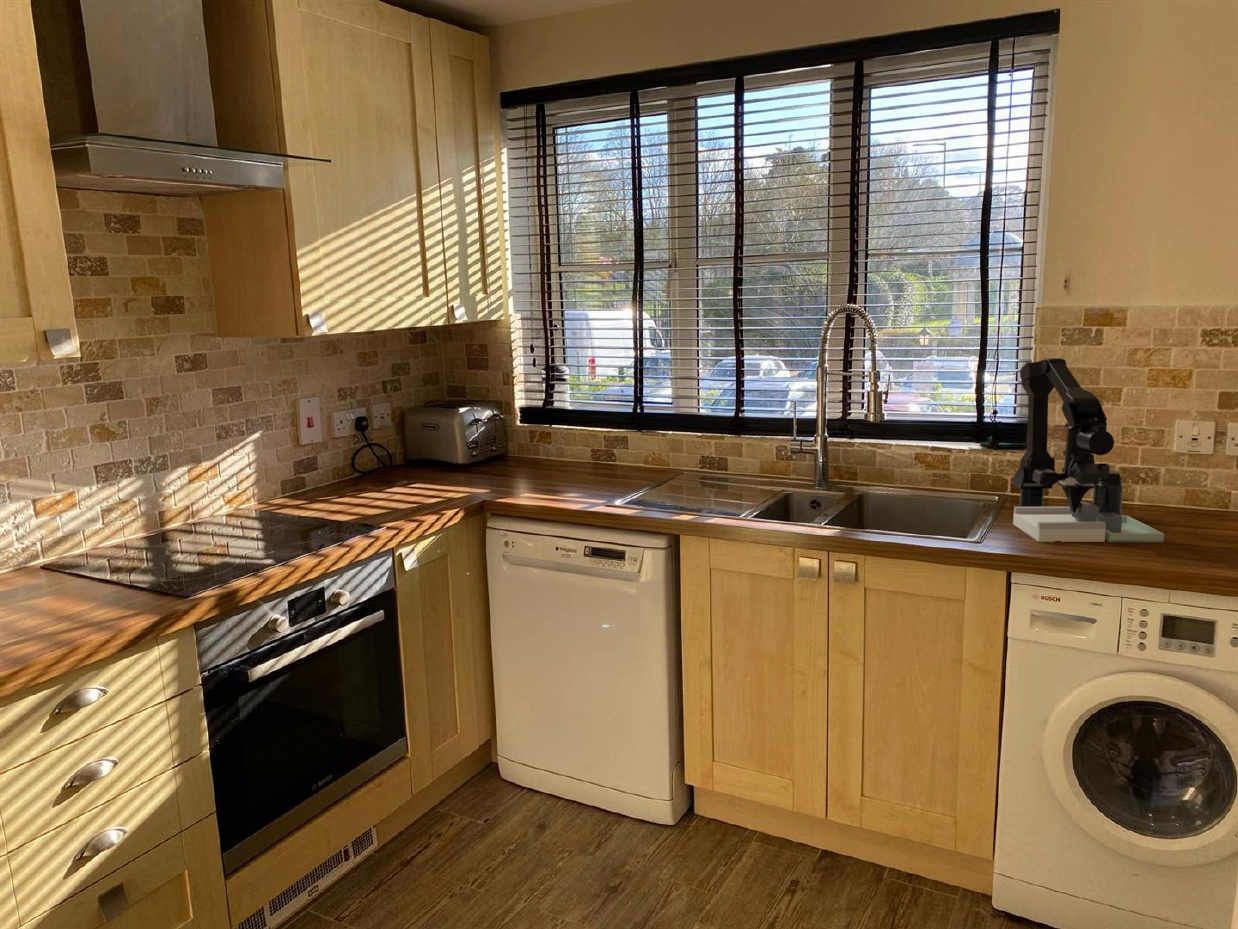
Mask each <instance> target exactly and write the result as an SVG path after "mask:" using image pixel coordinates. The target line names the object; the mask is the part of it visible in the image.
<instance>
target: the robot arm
mask: <svg viewBox="0 0 1238 929" xmlns="http://www.w3.org/2000/svg"><path fill="white" fill-rule="evenodd" d="M1019 375H1020V379H1021V386H1022V388H1023V390H1024V391H1025V393H1026V394H1027V396H1028V400H1027V446H1026V447H1027V448H1026V451H1025V453H1024V454H1023V456H1022V457H1021V458H1020V461H1019V462H1020V463H1019V467H1018V469H1017V471H1016V472H1015V474H1014V475H1013V478H1012V484H1013V487H1015V488H1017V489H1019V490H1020V494H1019V504H1015V505H1014V507H1044V496H1045V494H1044V493H1045V489H1049V490H1050V489H1053V486H1054V485H1058V486H1060V487H1061V488H1062V490H1063V492H1064V494H1065V497H1066V500H1067V503H1068V507H1070V508H1071V511H1072V512H1073V513H1075V512H1076V510H1077V508H1078V506H1079V504H1080V502H1081V501H1082V500H1083V498H1084V496H1085V495H1086V493H1088V491H1089V490H1091V489H1092V490H1093V489H1094V488H1095V486H1093V485H1098V484H1099V481H1102V482H1105V483H1106V484H1107V485H1110V486H1120V485H1121V484H1122V480H1123V478H1122V476H1121V474H1120V472H1119V473H1116V472H1114V471H1115V470H1113V471H1111V470H1112V469H1111V470H1110V468H1111V467H1110V465H1109V463H1103V462H1102V463H1095V462H1096V461H1095V456H1105V455H1107V454H1109V453H1110V452H1111V451H1112V450H1113V448H1114V446H1115V440H1114V437H1113V435H1112V434H1111V432H1108V431H1107V426H1108V423H1107V420H1108V419H1107V418H1108V417H1107V415H1106V413H1105V411H1104V409H1103V405H1102V403H1101V401H1100V400H1099V398H1098V397H1097V396H1096V395H1095V394H1094V393H1093V392H1091V391H1089V390H1087V389H1084V388H1082V386H1081V385H1080V384H1079V382H1078V380H1077V379H1076V378H1075V376H1074V375H1073V373H1072V372H1071V371H1070V369H1069V367H1068V366H1067V361H1066V360H1065V358H1061V357H1057V358H1056V357H1054V358H1053V357H1051V358H1044V359H1041V360H1038V361H1027V362H1025V364H1024V365H1023V366H1022V367H1021V368H1020V371H1019ZM1054 389H1055V390H1056V392H1057V394H1058V395H1059V396H1060V398H1061V401H1062V405H1061V411H1062V413H1063V416H1064V418H1065V420H1066V423H1065V424H1064V428H1067V429H1066V430H1067V431H1066V433H1067V434H1066V443H1065V450H1063V454H1062V455H1063V456H1064V464H1063V467H1061V472H1057V471H1056V469H1055V468H1056V467H1055V464H1056V460H1055V458H1054V457H1052V456H1051V454H1050V453H1049V451H1048V431H1049V430H1048V426H1049V425H1048V424H1049V422H1048V420H1049V395H1050V394H1051V393H1052V391H1053V390H1054Z"/></svg>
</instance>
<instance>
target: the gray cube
mask: <svg viewBox="0 0 1238 929" xmlns="http://www.w3.org/2000/svg"><path fill="white" fill-rule="evenodd" d="M1122 516H1123V515H1122V514H1121V515H1118V514H1116V513H1098V515H1097V522H1105V523H1106V530H1108V531H1110V532H1112V533H1121V527H1122Z"/></svg>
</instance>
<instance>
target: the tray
mask: <svg viewBox="0 0 1238 929" xmlns="http://www.w3.org/2000/svg"><path fill="white" fill-rule="evenodd" d="M1121 516H1122V527H1121V533H1112V532H1110V531H1108V530H1105V541H1107V542H1109V543H1165V542H1164V540H1165V533H1164V532H1161V531H1159V530H1157V529H1155V528H1153V527H1151V526H1149V525H1147V524H1145V523H1143V522H1141V521H1139V520H1137V519H1135V518H1133V517H1132V516H1129V515H1121ZM1096 522H1097V518H1096Z"/></svg>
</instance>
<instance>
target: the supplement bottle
mask: <svg viewBox="0 0 1238 929" xmlns="http://www.w3.org/2000/svg"><path fill="white" fill-rule="evenodd" d="M1111 471H1114V472H1116V473H1119V474H1120V472H1119V471H1117V470H1112V469H1111ZM1093 486H1095V488H1094V489H1092V501H1091V503H1093V504H1095V505H1097V506H1099V507H1100V508H1099V511H1098V513H1116V514H1118V515H1121V516H1122V512H1123V511H1122V509H1123V493H1124V485H1123V483H1121V485H1120V486H1110V485H1107V484H1106V483H1105V482H1102V481H1099V484H1098V485H1094V484H1093Z"/></svg>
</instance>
